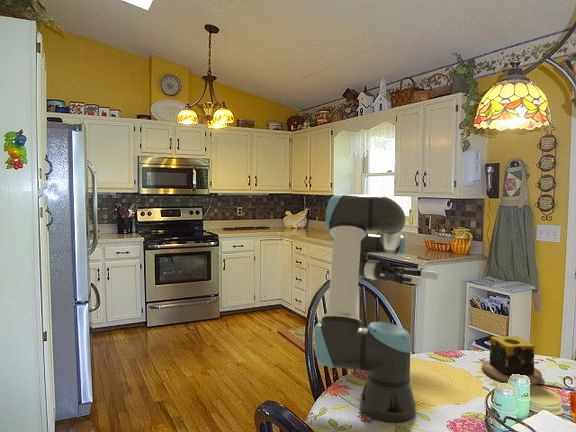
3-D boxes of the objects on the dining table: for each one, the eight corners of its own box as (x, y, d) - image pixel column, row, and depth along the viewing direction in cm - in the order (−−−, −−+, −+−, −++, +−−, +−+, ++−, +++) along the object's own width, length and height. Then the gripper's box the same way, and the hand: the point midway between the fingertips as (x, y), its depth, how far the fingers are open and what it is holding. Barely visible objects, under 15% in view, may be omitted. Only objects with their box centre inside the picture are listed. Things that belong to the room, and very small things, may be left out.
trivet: (533, 391, 132) (533, 386, 132) (473, 373, 145) (473, 369, 144) (548, 374, 145) (548, 369, 145) (492, 359, 158) (492, 355, 157)
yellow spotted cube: (516, 363, 150) (517, 335, 150) (535, 375, 140) (536, 345, 140) (488, 364, 149) (489, 335, 149) (505, 376, 139) (507, 346, 139)
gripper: (394, 276, 179) (443, 283, 164) (360, 284, 161) (412, 294, 146) (394, 258, 178) (444, 264, 163) (360, 264, 160) (412, 272, 145)
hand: (429, 278), depth 155 cm, fingers open, 13 cm apart
